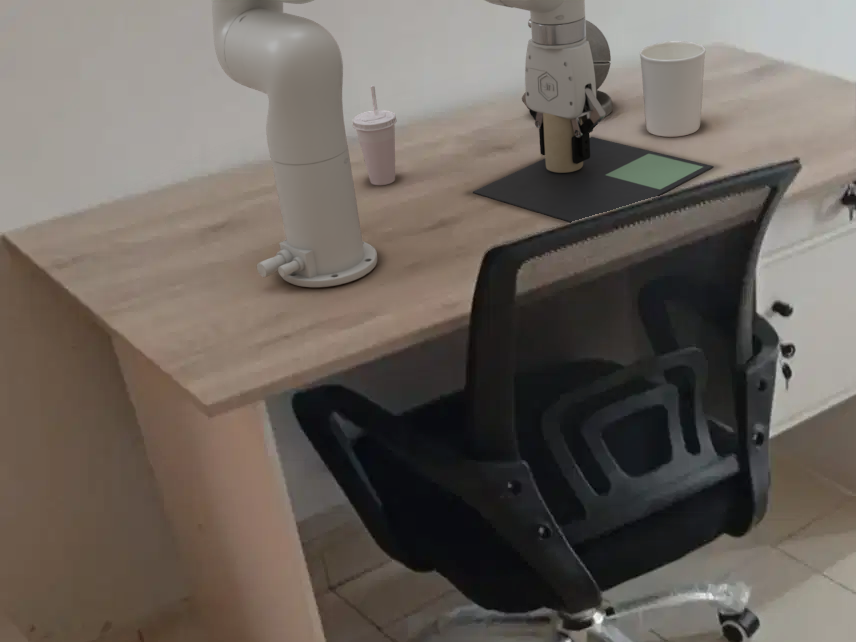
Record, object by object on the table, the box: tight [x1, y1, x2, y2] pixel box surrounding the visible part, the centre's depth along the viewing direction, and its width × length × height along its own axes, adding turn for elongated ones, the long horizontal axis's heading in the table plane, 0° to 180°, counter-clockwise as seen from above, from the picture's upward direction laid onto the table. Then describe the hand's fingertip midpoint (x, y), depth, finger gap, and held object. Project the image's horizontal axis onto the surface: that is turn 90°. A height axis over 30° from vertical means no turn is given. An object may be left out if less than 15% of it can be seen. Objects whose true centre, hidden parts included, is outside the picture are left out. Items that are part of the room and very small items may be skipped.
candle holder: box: [639, 40, 707, 138], centre depth 190 cm, size 10×10×12 cm
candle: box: [543, 113, 583, 173], centre depth 180 cm, size 6×6×10 cm
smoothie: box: [351, 85, 397, 186], centre depth 181 cm, size 6×6×14 cm
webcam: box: [585, 19, 613, 117], centre depth 200 cm, size 13×13×15 cm
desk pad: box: [472, 136, 714, 223], centre depth 178 cm, size 26×23×1 cm
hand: (565, 155), depth 182 cm, fingers closed on candle, 5 cm apart
